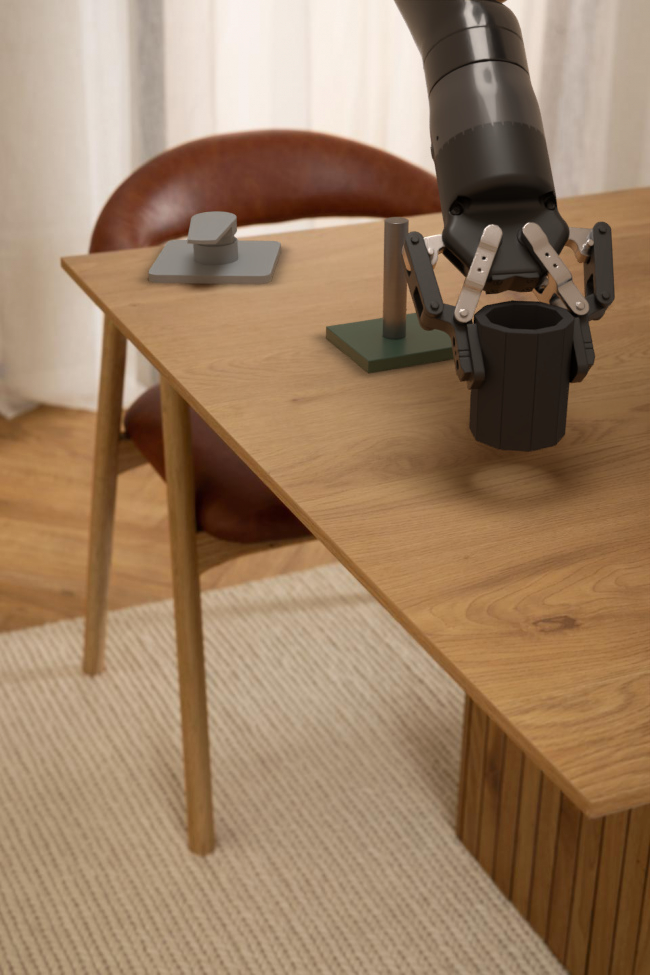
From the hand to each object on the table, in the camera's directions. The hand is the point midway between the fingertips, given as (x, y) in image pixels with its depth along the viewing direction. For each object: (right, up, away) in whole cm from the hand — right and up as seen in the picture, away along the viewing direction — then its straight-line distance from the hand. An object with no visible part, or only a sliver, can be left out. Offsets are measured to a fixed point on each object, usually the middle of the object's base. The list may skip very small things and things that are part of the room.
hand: (528, 380), depth 74 cm
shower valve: (-24, +16, +48) cm, 56 cm away
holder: (-7, +5, +28) cm, 29 cm away
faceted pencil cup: (0, -3, +4) cm, 5 cm away
